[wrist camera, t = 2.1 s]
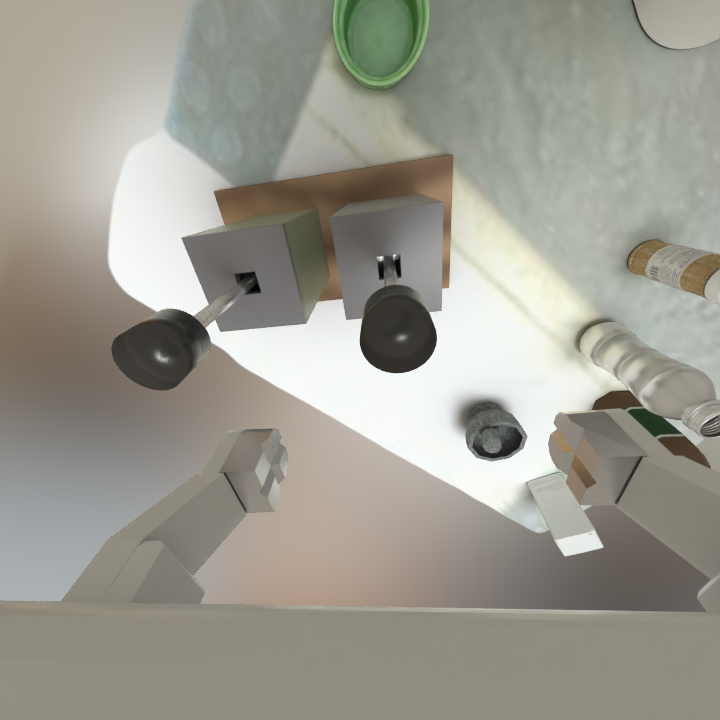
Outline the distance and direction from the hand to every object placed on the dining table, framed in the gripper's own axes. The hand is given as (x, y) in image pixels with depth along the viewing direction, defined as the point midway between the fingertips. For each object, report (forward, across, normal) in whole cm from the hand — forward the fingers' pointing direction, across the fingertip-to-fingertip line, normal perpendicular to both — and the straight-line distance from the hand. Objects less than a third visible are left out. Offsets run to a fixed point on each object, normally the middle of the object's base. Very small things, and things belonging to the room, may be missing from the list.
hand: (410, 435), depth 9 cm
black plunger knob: (+26, +13, 0) cm, 29 cm away
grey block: (+36, 0, 0) cm, 36 cm away
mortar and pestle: (+38, -16, +34) cm, 53 cm away
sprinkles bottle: (+38, -35, +7) cm, 52 cm away
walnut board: (+37, +7, 0) cm, 38 cm away
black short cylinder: (+26, 0, 0) cm, 26 cm away
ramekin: (+38, -1, -19) cm, 42 cm away
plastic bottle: (+38, -32, +19) cm, 53 cm away
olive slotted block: (+36, +13, 0) cm, 38 cm away
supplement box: (+38, -32, +57) cm, 75 cm away
